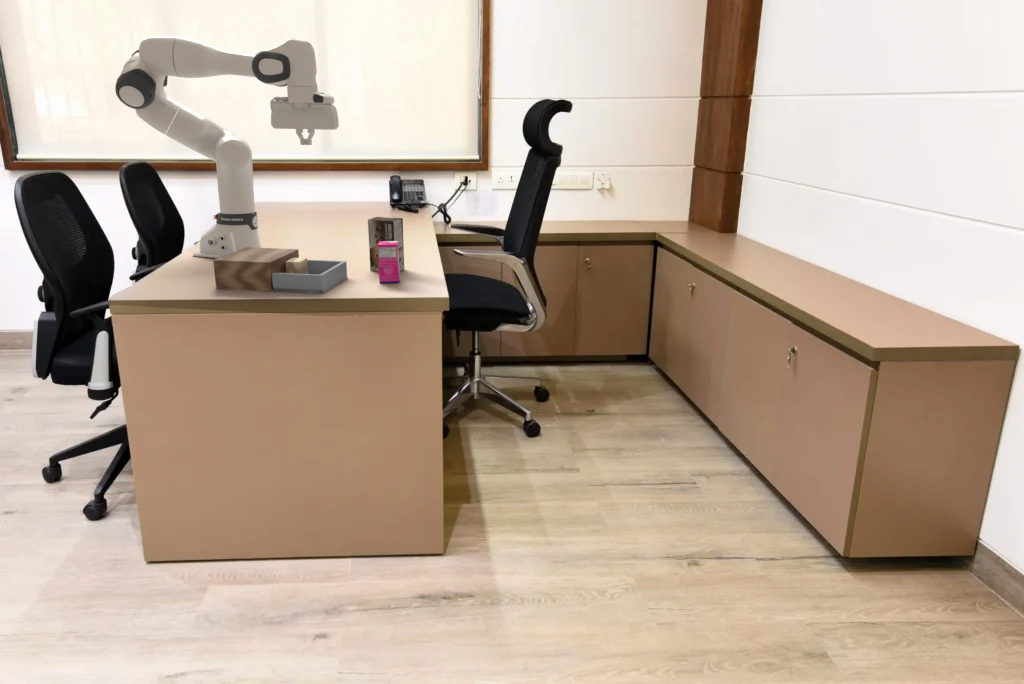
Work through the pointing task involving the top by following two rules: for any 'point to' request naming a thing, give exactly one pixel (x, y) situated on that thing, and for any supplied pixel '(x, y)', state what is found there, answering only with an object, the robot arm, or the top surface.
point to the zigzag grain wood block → (251, 268)
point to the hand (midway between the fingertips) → (306, 144)
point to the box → (312, 277)
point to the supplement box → (388, 262)
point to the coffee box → (385, 238)
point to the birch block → (297, 266)
